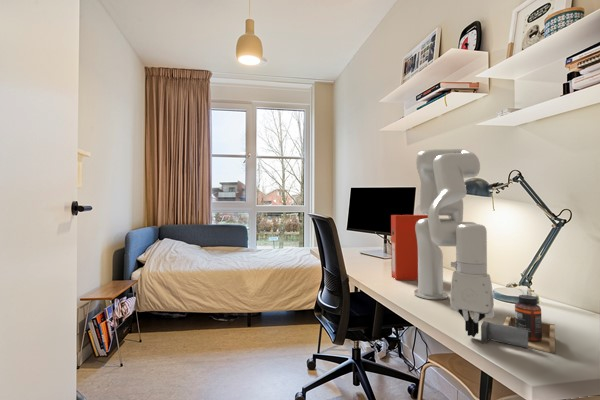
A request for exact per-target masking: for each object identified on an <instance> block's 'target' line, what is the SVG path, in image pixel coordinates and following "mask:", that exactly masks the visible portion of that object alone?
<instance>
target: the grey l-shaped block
mask: <svg viewBox="0 0 600 400" xmlns="http://www.w3.org/2000/svg"><path fill="white" fill-rule="evenodd" d="M480 340H481V342H480V343H483V344H487V343H488V341H489V340H491V341H494V342H495V341H496V342H500V343H505V344H507V345H508V344H510V345H513V346H517V347H521V348H526V349H529V348H528V330H527V329H522V328H517V327H512V326H507V325H503V324H501V323H497V322H492V321H487V320H483V322H482V323H481V325H480Z"/></svg>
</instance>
